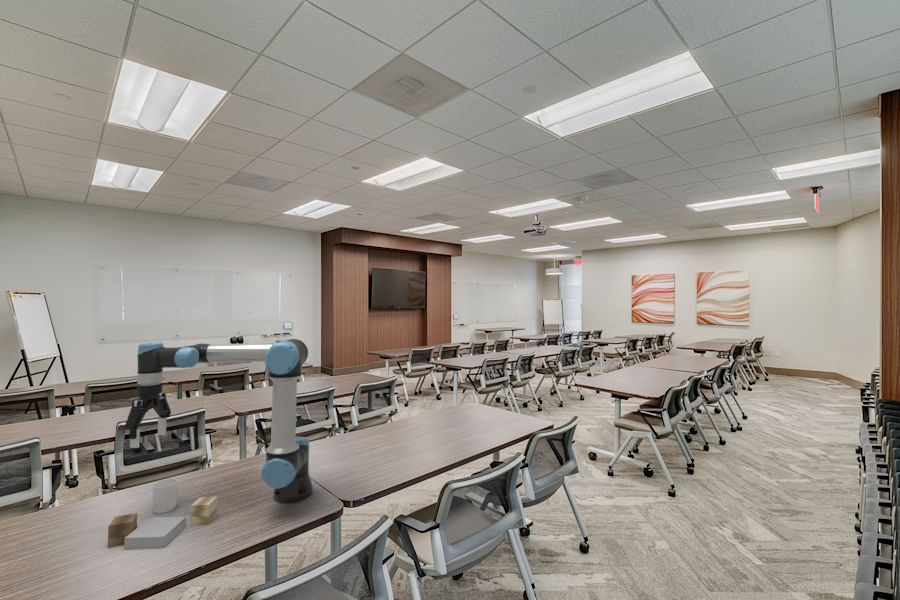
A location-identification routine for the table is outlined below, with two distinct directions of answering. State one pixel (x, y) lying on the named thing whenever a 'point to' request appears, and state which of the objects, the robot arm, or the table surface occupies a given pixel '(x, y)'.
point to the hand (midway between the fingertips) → (148, 441)
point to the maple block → (203, 510)
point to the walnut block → (121, 529)
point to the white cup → (165, 495)
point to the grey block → (155, 533)
